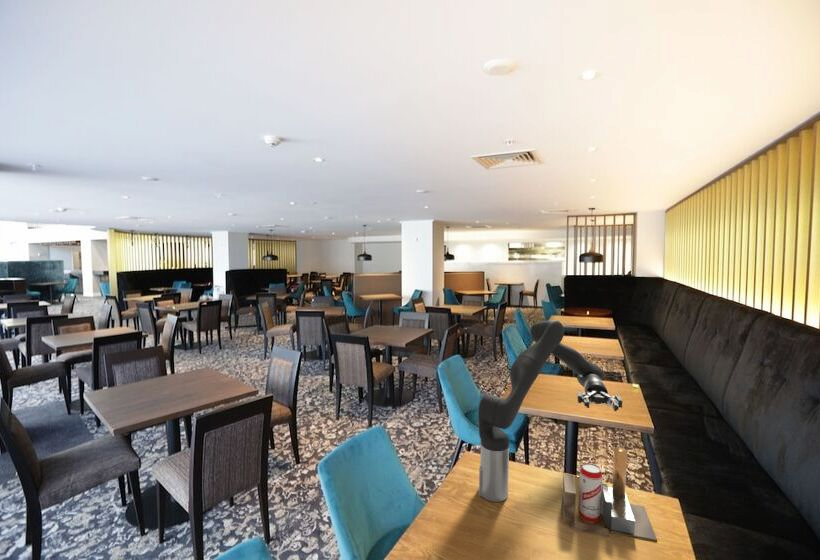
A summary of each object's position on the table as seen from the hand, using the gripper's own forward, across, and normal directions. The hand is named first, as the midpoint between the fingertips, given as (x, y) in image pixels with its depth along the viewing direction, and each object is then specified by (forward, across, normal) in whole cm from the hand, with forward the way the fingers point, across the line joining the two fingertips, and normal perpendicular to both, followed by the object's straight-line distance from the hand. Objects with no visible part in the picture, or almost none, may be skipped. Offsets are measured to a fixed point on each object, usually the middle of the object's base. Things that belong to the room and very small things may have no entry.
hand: (601, 406), depth 136 cm
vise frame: (+17, 0, +28) cm, 33 cm away
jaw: (+16, +2, +27) cm, 32 cm away
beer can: (+19, -5, +28) cm, 34 cm away
